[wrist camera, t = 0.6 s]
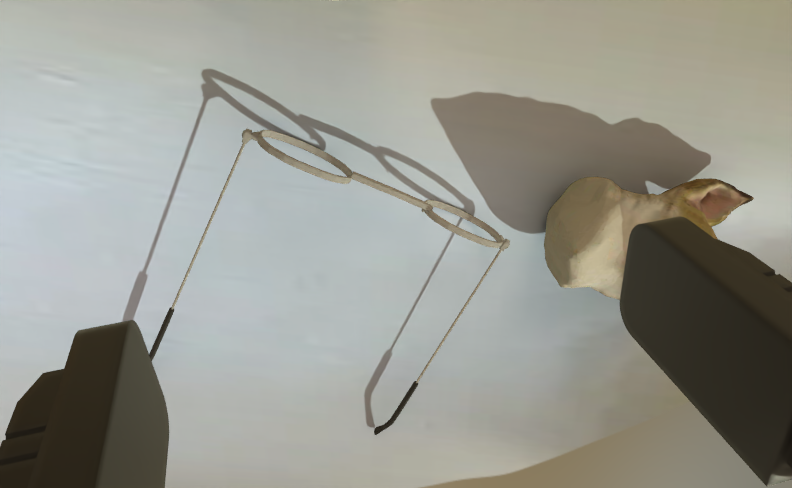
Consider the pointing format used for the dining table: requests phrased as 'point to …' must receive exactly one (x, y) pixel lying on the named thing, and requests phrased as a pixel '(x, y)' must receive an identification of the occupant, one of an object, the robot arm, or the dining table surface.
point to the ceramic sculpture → (621, 225)
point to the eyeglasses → (425, 205)
